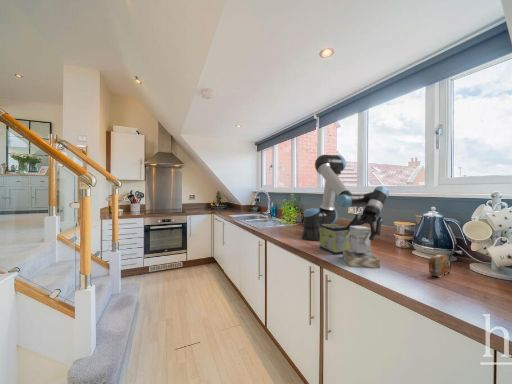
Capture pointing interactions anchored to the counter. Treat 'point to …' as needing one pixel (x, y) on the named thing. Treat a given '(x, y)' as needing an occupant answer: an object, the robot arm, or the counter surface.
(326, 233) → the protein box
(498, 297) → the counter surface
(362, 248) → the supplement box
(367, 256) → the brown shallow tray
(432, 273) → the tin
